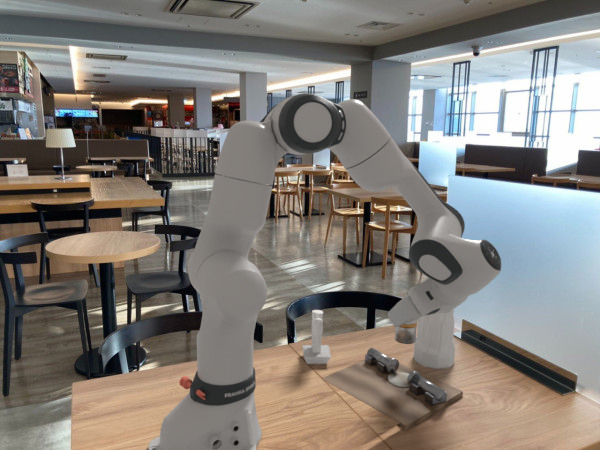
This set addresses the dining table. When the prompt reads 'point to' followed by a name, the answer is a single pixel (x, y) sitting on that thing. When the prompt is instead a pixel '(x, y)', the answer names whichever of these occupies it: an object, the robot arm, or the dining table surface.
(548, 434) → the dining table surface
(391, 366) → the far steel shaft
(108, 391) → the dining table surface
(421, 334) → the decorative vase
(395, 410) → the walnut base board
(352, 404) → the dining table surface
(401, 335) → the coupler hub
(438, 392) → the near steel shaft
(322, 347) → the white peg on base
